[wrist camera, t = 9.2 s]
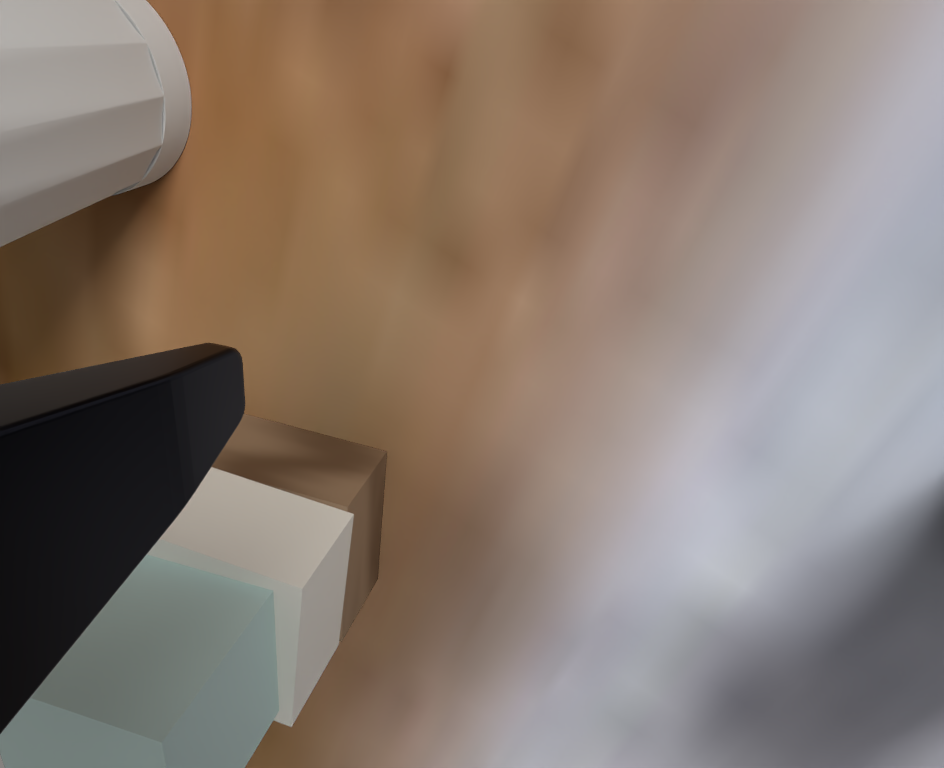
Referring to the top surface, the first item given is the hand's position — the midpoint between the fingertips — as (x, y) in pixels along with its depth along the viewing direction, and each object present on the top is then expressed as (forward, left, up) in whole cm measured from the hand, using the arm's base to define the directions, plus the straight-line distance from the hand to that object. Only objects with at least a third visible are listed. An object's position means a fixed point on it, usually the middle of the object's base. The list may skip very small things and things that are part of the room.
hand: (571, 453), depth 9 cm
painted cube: (+10, +13, -6) cm, 18 cm away
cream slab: (+10, +13, -10) cm, 19 cm away
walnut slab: (+10, +13, -13) cm, 21 cm away
